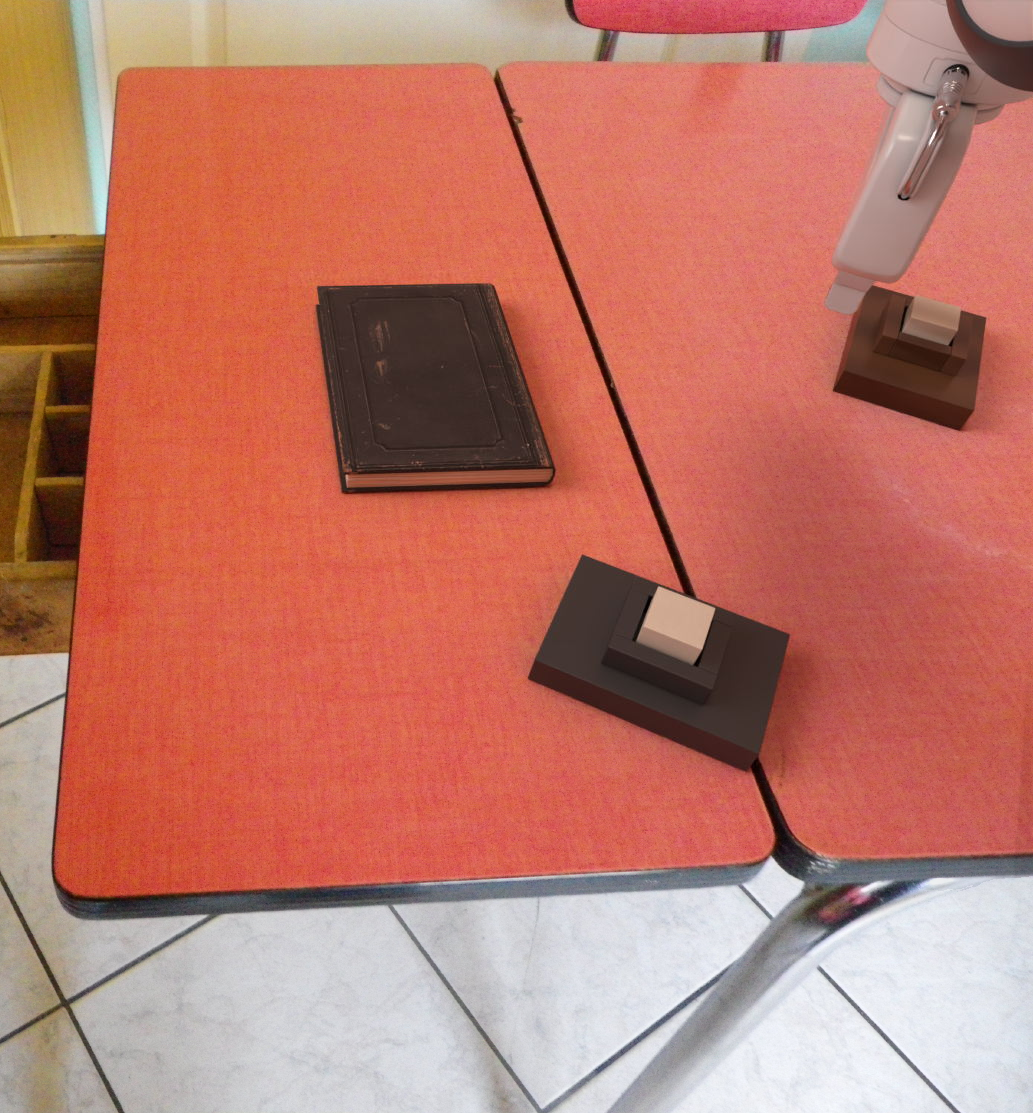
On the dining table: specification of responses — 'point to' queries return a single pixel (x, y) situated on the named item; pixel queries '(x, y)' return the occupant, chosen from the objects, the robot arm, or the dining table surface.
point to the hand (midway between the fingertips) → (852, 266)
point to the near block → (662, 666)
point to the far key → (931, 320)
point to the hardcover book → (427, 390)
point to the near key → (676, 625)
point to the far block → (910, 362)
